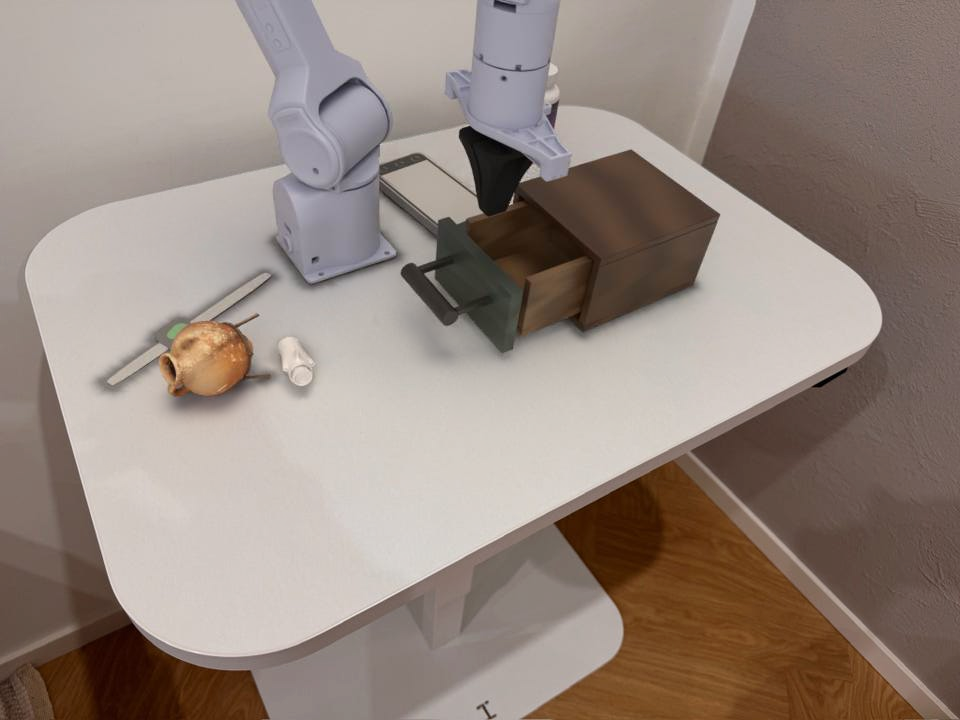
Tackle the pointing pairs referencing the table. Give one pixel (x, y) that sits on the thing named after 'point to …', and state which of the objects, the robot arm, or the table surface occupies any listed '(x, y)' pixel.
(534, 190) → the cabinet
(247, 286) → the strap with green oval
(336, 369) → the table surface
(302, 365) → the small white plastic part
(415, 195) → the smartphone
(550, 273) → the rack drawer
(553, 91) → the pill bottle
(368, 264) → the robot arm
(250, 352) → the pot
